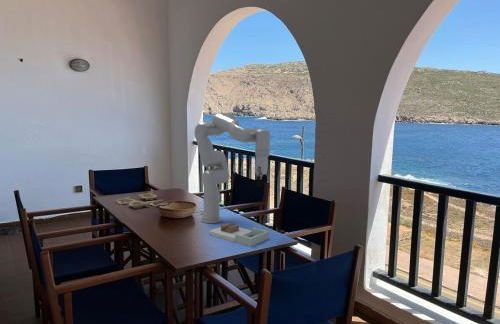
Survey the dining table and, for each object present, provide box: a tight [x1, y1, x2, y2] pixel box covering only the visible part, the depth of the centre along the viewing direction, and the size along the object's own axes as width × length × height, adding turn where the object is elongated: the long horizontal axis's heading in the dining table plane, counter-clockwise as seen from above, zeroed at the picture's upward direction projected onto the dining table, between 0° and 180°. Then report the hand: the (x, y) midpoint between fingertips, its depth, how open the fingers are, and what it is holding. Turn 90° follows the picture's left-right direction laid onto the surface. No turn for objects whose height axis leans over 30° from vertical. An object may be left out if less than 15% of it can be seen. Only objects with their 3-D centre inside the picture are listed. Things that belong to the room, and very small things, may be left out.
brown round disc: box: [220, 222, 240, 233], centre depth 203 cm, size 7×7×3 cm
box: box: [234, 227, 270, 247], centre depth 194 cm, size 10×15×4 cm
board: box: [208, 226, 253, 243], centre depth 203 cm, size 18×16×2 cm
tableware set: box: [115, 192, 164, 209], centre depth 267 cm, size 35×29×4 cm
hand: (261, 184), depth 199 cm, fingers open, 9 cm apart
